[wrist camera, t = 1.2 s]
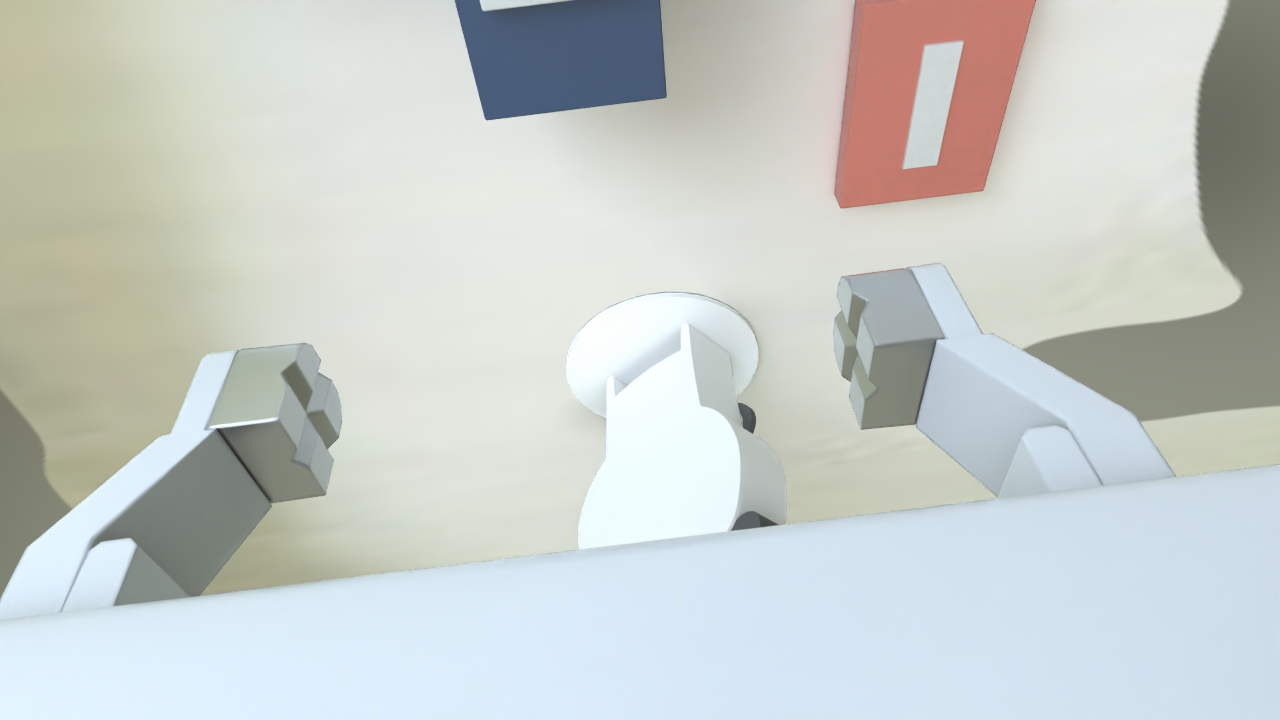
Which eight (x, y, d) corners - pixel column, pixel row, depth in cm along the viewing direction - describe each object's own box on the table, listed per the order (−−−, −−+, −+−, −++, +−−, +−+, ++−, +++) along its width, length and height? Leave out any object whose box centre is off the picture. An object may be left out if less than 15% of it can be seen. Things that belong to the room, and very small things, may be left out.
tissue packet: (856, -9, 33) (865, 6, 32) (1029, -31, 33) (1043, -16, 32) (833, 194, 40) (840, 211, 39) (975, 177, 40) (985, 193, 39)
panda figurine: (650, 449, 54) (677, 672, 44) (518, 376, 48) (514, 618, 38) (795, 355, 49) (863, 587, 39) (667, 259, 42) (709, 506, 32)
